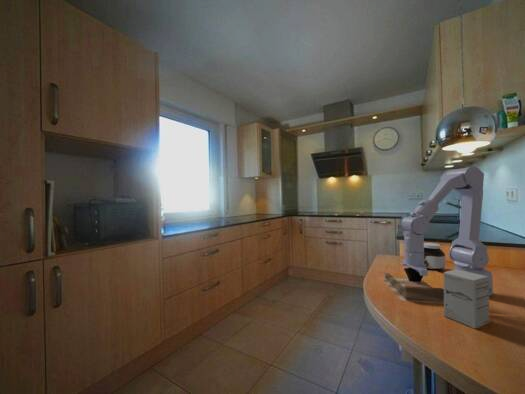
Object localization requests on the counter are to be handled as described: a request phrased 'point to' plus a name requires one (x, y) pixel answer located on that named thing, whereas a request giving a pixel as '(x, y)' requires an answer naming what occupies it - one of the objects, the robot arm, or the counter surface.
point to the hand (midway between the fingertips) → (414, 289)
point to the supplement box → (466, 297)
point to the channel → (414, 291)
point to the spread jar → (434, 257)
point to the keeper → (416, 284)
